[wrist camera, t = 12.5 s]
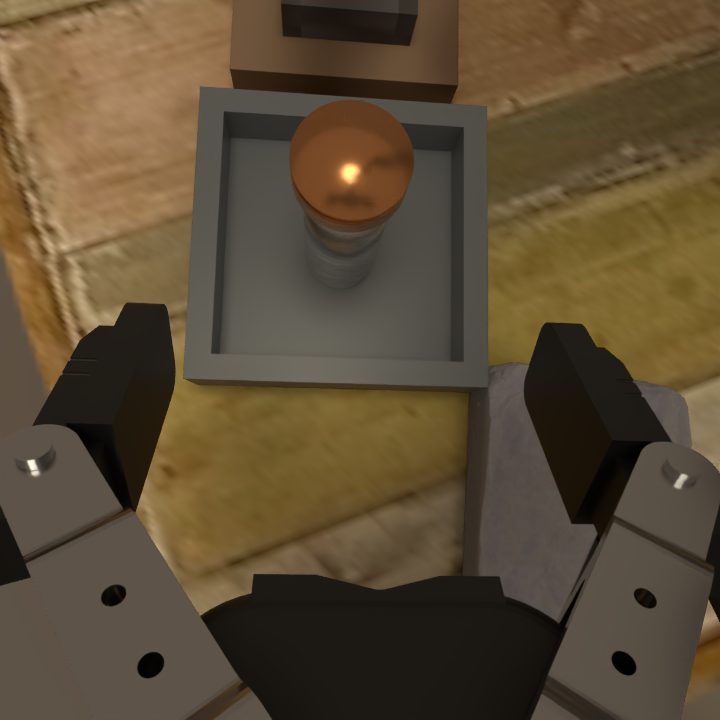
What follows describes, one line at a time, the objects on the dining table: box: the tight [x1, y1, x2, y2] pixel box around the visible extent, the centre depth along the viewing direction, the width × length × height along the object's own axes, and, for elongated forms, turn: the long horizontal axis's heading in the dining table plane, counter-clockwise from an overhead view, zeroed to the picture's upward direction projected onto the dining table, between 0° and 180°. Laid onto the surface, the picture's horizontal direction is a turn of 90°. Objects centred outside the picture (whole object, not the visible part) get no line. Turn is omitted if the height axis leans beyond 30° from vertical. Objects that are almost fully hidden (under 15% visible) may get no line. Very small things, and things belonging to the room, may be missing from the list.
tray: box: [183, 87, 488, 392], centre depth 26 cm, size 12×12×3 cm
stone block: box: [462, 362, 692, 621], centre depth 26 cm, size 12×5×10 cm
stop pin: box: [289, 100, 414, 289], centre depth 22 cm, size 4×4×9 cm
